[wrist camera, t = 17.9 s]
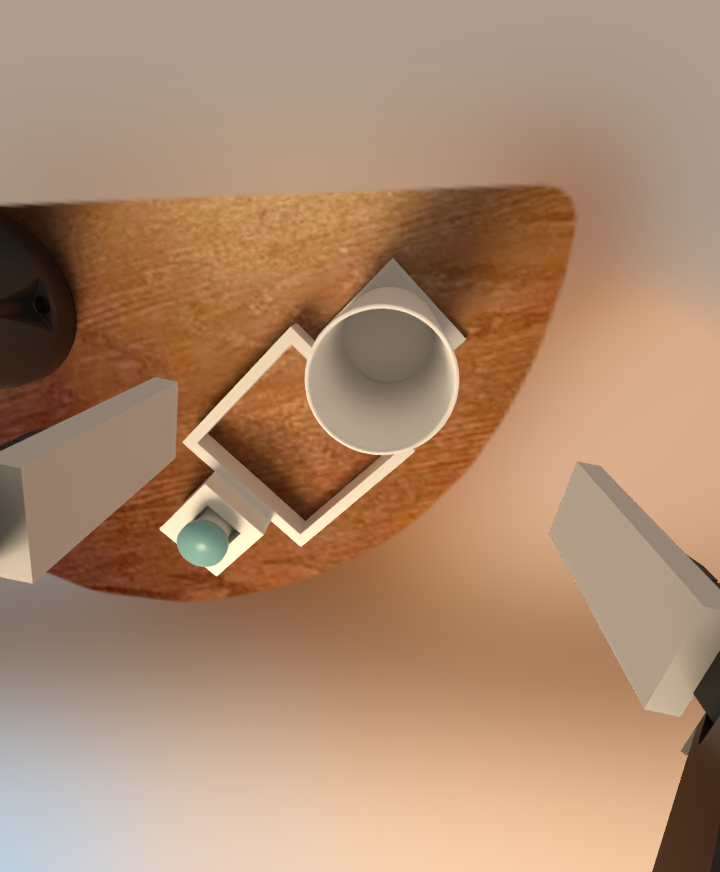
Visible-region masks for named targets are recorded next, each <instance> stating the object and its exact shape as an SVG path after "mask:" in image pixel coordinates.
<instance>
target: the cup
mask: <svg viewBox="0 0 720 872" xmlns="http://www.w3.org/2000/svg"><path fill="white" fill-rule="evenodd" d="M305 389H306V395H307V399H308V402H309V405H310V408H311V410H312V412H313V414H314V416H315V417H316V419H317V421H318V422H319V423H320V425H321V426H322V427H323V428H324V430H325V431H326V432H327V433H328V434H329V435H331V436H332V437H333V438H334V439H336V440H337V441H338V442H340V443H341V444H343V445H345V446H347V447H349V448H351V449H354V450H356V451H359V452H363V453H367V454H374V455H391V454H397V453H402V452H405V451H408V450H411V449H413V448H416V447H418V446H420V445H421V444H423V443H425V442H426V441H428V440H429V439H430V438H432V437H433V436H434V435H435V434H436V433H437V432H438V431H439V430H440V429H441V428H442V426H443V425H444V424H445V423H446V421H447V420H448V418H449V416H450V414H451V412H452V410H453V408H454V405H455V403H456V399H457V395H458V389H459V370H458V363H457V359H456V356H455V353H454V350H453V348H452V346H451V344H450V342H449V340H448V338H447V337H446V335H445V333H444V332H443V330H442V328H441V326H440V325H439V323H438V321H437V320H436V318H435V316H434V315H433V313H432V311H431V310H430V308H429V307H428V305H427V304H426V303H425V302H424V301H423V300H422V299H421V298H420V297H419V296H417V295H416V294H414V293H412V292H410V291H408V290H406V289H403V288H398V287H382V288H377V289H374V290H371V291H369V292H367V293H365V294H364V295H362V296H361V297H359V298H358V299H357V300H356V301H355V302H354V303H352V304H351V305H350V306H349V307H348V308H346V309H345V310H344V311H343V312H342V313H341V314H339V315H338V316H337V317H336V318H335V319H334V320H332V321H331V322H330V323H329V324H328V325H327V326H326V327H325V328H324V329H323V330H322V332H321V333H320V334H319V336H318V337H317V339H316V340H315V342H314V344H313V346H312V348H311V351H310V354H309V356H308V360H307V364H306V370H305Z"/></svg>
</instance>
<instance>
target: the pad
mask: <svg viewBox="0 0 720 872" xmlns="http://www.w3.org/2000/svg"><path fill="white" fill-rule="evenodd" d="M382 287H398V288H403V289H406V290H408V291H410V292H412V293H414V294H416V295H417V296H419V297H420V298H421V299H422V300H423V301H424V302H425V303H426V304H427V305H428V307H429V308H430V310H431V311H432V313H433V315H434V316H435V318H436V320H437V321H438V323H439V325H440V326H441V328H442V330H443V332H444V333H445V335H446V337H447V338H448V340H449V342H450V344H451V346H452V348H453V350H455V349H456V348H457V347H458V346H459V345H461V344H462V343H463V342H464V341H465V340H466V338H465V337H464V336H463V335H462V334H461V333H460V332H459V330H458V329H457V328H456V327H455V326H454V325H453V324H452V323H451V322H450V320H449V319H448V318H447V317H446V316H445V315H444V314H443V313H442V312H441V310H440V309H439V308H438V307H437V306H436V305H435V304H434V303H433V302H432V300H431V299H430V298H429V297H428V296H427V295H426V294H425V293H424V292H423V290H422V289H421V288H420V287H419V286H418V285H417V284H416V283H415V282H414V280H413V279H412V278H411V277H410V276H409V275H408V274H407V273H406V272H405V270H404V269H403V268H402V267H401V266H400V265H399V264H398V263H397V262H396V260H395V259H394V258H392V259H391V260H390V261H389V262H388V263H387V264H386V265H385V266H384V267H383V268H382V269H381V270H380V271H379V272H378V273H377V275H376V276H375V277H374V278H373V279H372V280H371V281H370V282H369V283H368V284H367V285H366V286H365V287H364V288H363V289H362V290H361V291H360V292H359V293H358V294H357V295H356V296H355V297H354V298H353V299H352V300H351V301H350V302H349V303H348V304H347V305H346V307H345V308H344V309H343V310H342V311H341V312H340V313H339V314H341V313H342V312H343V311H344V310H345V309H346V308H348V307H349V306H350V305H351V304H352V303H354V302H355V301H356V300H357V299H358V298H359V297H361V296H362V295H364V294H365V293H367V292H369V291H371V290H374V289H377V288H382ZM339 314H338V315H339ZM338 315H337V316H338ZM337 316H336V317H337ZM336 317H335V318H336ZM335 318H334V319H335ZM334 319H333V320H334ZM321 332H322V331H321ZM321 332H320V333H321ZM320 333H319V334H320ZM319 334H318V335H317V337H318V336H319Z"/></svg>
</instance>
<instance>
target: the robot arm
mask: <svg viewBox="0 0 720 872" xmlns="http://www.w3.org/2000/svg"><path fill="white" fill-rule="evenodd" d="M74 332H75V312H74V306H73V301H72V297H71V293H70V290H69V287H68V285H67V282H66V280H65V278H64V276H63V274H62V272H61V270H60V268H59V267H58V265H57V263H56V262H55V260H54V259H53V257H52V256H51V255H50V253H49V252H48V251H47V250H46V248H45V247H44V246H43V245H42V244H41V243H40V242H39V241H38V240H37V239H36V238H35V237H34V236H33V235H31V234H30V233H29V232H28V231H27V230H25V229H24V228H23V227H21V226H20V225H18V224H17V223H15V222H13V221H11V220H10V219H8V218H6V217H4V216H1V215H0V389H6V388H14V387H19V386H22V385H25V384H28V383H31V382H34V381H37V380H40V379H42V378H45V377H46V376H48V375H50V374H51V373H53V372H54V371H55V370H56V369H57V368H58V367H59V366H60V365H61V364H62V363H63V361H64V360H65V358H66V357H67V355H68V353H69V351H70V348H71V345H72V342H73V338H74ZM177 400H178V382H176V381H171V380H166V379H161V378H156V377H155V378H152V379H150V380H148V381H146V382H144V383H142V384H140V385H138V386H136V387H134V388H132V389H129V390H127V391H125V392H123V393H121V394H119V395H117V396H115V397H113V398H111V399H109V400H106V401H104V402H102V403H100V404H98V405H96V406H94V407H92V408H90V409H88V410H86V411H83V412H81V413H79V414H77V415H75V416H73V417H71V418H69V419H67V420H65V421H63V422H60V423H58V424H56V425H54V426H52V427H48V428H44V429H40V430H36V431H32V432H29V433H27V434H24V435H22V436H20V437H18V438H16V439H14V440H13V442H11V441H9V442H7V443H5V444H3V445H1V446H0V577H4V578H8V579H13V580H18V581H23V582H27V583H34V582H35V581H36V580H37V579H38V578H39V577H41V576H42V575H43V574H44V573H45V572H46V571H48V570H49V569H50V568H51V567H52V566H53V565H54V564H56V563H57V562H58V561H59V560H60V559H61V558H62V557H63V556H65V555H66V554H67V553H68V552H69V551H70V550H71V549H73V548H74V547H75V546H76V545H77V544H78V543H79V542H81V541H82V540H83V539H84V538H85V537H86V536H87V535H88V534H90V533H91V532H92V531H93V530H94V529H95V528H96V527H98V526H99V525H100V524H101V523H102V522H103V521H104V520H106V519H107V518H108V517H109V516H110V515H111V514H112V513H113V512H115V511H116V510H117V509H118V508H119V507H120V506H121V505H123V504H124V503H125V502H126V501H127V500H128V499H129V498H131V497H132V496H133V495H134V494H135V493H136V492H137V491H138V490H140V489H141V488H142V487H143V486H144V485H145V484H146V483H148V482H149V481H150V480H151V479H152V478H153V477H154V476H156V475H157V474H158V473H159V472H160V471H161V470H162V469H163V468H165V467H166V466H167V465H168V464H169V463H170V462H171V461H173V460H174V459H175V457H176V429H177ZM549 535H550V536H551V538H552V540H553V542H554V544H555V546H556V548H557V549H558V551H559V553H560V555H561V557H562V559H563V560H564V562H565V564H566V566H567V568H568V570H569V572H570V573H571V575H572V577H573V579H574V580H575V583H576V584H577V586H578V588H579V590H580V592H581V593H582V595H583V597H584V599H585V601H586V602H587V605H588V606H589V608H590V610H591V612H592V614H593V616H594V618H595V619H596V621H597V623H598V625H599V627H600V629H601V631H602V632H603V634H604V636H605V638H606V640H607V641H608V643H609V645H610V647H611V649H612V651H613V652H614V654H615V656H616V658H617V660H618V662H619V664H620V666H621V667H622V669H623V671H624V673H625V675H626V677H627V678H628V680H629V682H630V684H631V686H632V688H633V690H634V691H635V693H636V695H637V697H638V699H639V701H640V702H641V704H642V706H643V708H644V709H645V710H650V711H655V712H660V713H665V714H669V715H674V716H679V717H681V715H682V714H683V712H684V710H685V709H686V707H687V706H688V704H689V703H690V701H691V699H692V698H693V696H694V695H695V697H696V698H697V700H698V701H699V703H700V704H701V706H702V707H703V709H704V710H705V711H706V713H705V715H704V716H703V718H702V719H701V721H700V722H699V724H698V726H697V727H696V728H695V730H694V731H693V733H692V735H691V736H690V737H689V739H688V741H687V742H686V744H685V745H684V747H683V748H682V750H681V752H683V753H684V754H685V755H688V757H687V760H686V764H685V767H684V770H683V773H682V777H681V780H680V783H679V786H678V790H677V793H676V796H675V800H674V803H673V806H672V810H671V812H670V816H669V819H668V822H667V825H666V829H665V832H664V835H663V838H662V842H661V845H660V848H659V852H658V855H657V858H656V861H655V865H654V868H653V871H652V872H720V583H717V581H718V580H717V579H716V578H715V577H714V576H713V575H712V574H711V573H709V571H708V570H707V569H706V568H705V567H704V566H702V565H701V564H699V563H698V562H696V561H695V560H693V559H692V558H691V557H689V556H688V555H687V554H685V553H684V552H683V551H682V550H681V549H680V548H679V547H678V546H677V545H676V544H675V543H674V542H673V540H672V539H671V538H670V537H669V536H668V535H667V534H666V533H665V532H664V531H663V530H662V529H661V528H660V527H659V526H658V525H657V524H656V523H655V522H654V521H653V520H652V519H651V518H650V517H649V516H648V515H647V514H646V513H645V512H644V511H643V510H642V508H640V507H639V505H638V504H637V503H636V502H635V501H634V500H633V499H632V498H631V497H630V496H629V495H628V494H627V493H626V492H625V491H624V490H623V489H622V488H621V487H620V486H619V485H618V484H617V483H616V482H615V481H614V480H613V479H612V478H611V477H610V475H608V474H607V472H606V471H605V470H604V469H603V468H602V467H601V466H597V465H592V464H587V463H582V462H577V463H576V465H575V468H574V471H573V473H572V476H571V478H570V481H569V483H568V486H567V488H566V491H565V493H564V496H563V498H562V501H561V503H560V506H559V509H558V511H557V514H556V517H555V519H554V521H553V524H552V527H551V529H550V531H549Z"/></svg>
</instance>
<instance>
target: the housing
mask: <svg viewBox="0 0 720 872" xmlns="http://www.w3.org/2000/svg"><path fill="white" fill-rule="evenodd" d="M314 342H315V340H314V339H313V338H312V337H311V336H310V335H309V334H308V333H307V332H306V331H305V330H304V329H303V328H302V327H301V326H300V325H299V324H298V323H296V324H294V325H292V326H291V327H290V328H289V329H288V330H287V331H286V332H285V333H284V334H283V335H282V336H281V337H280V338H279V339H278V341H277V342H276V343H275V344H274V345H273V346H272V347H271V348H270V349H269V350H268V351H267V352H266V353H265V354H264V356H263V357H262V358H261V359H260V360H259V361H258V362H257V363H256V364H255V365H254V366H253V367H252V368H251V369H250V370H249V372H248V373H247V374H246V375H245V376H244V377H243V378H242V379H241V380H240V381H239V382H238V383H237V384H236V385H235V387H234V388H233V389H232V390H231V391H230V392H229V393H228V394H227V395H226V396H225V397H224V398H223V399H222V400H221V401H220V403H219V404H218V405H217V406H216V407H215V408H214V409H213V410H212V411H211V412H210V413H209V414H208V415H207V416H206V418H205V419H204V420H203V421H202V422H201V423H200V424H199V425H198V426H197V427H196V428H195V429H194V430H193V431H192V433H191V434H190V435H189V436H188V437H187V438H186V439H185V440H184V441H183V442H182V443H183V444H184V445H186V446H187V447H188V448H189V449H190V450H191V451H192V452H194V453H195V454H196V455H197V456H198V457H199V458H200V459H201V460H203V461H204V462H205V463H206V464H207V465H208V466H209V467H211V468H212V469H213V470H214V472H213V473H212V474H211V475H210V476H209V477H208V478H207V479H206V480H205V481H204V482H203V483H202V484H201V485H200V486H199V487H198V488H197V489H196V490H195V491H194V492H193V493H192V494H191V495H190V496H189V497H188V498H187V499H186V500H185V501H184V502H183V504H182V505H181V506H180V507H179V508H178V509H177V510H176V511H175V512H174V513H173V515H172V516H171V517H170V518H169V519H168V520H167V521H166V522H165V523H164V525H163V526H162V527H161V528H160V529H159V530H161V531H162V532H163V533H164V534H166V535H167V536H168V537H169V538H170V539H172V540H173V541H174V542H175V543H177V536H178V534H179V532H180V531H181V530H182V528H183V527H184V526H185V525H186V524H187V523H189V522H190V521H193V520H198V519H199V518H200V517H201V516H202V514H203V513H204V512H205V510H206V509H207V508H208V507H210V508H211V509H213V510H214V511H215V512H216V513H217V514H218V515H220V516H221V517H222V518H223V519H224V520H225V521H227V522H228V523H229V524H230V525H231V526H232V527H234V529H233V531H232V532H231V534H230V535H229V537H228V541H229V548H228V551H227V553H226V554H225V556H224V558H223V559H222V560H221V561H220V562H219V563H218V564H216V565H214V566H210V567H206V568H207V569H208V570H209V571H211V572H212V573H213V574H214V575H215V576H218V575H219V574H220V573H221V572H222V571H223V570H224V569H225V568H227V567H228V566H229V565H230V564H231V563H232V562H233V561H235V560H236V559H237V558H238V557H239V556H240V555H241V554H242V553H244V552H245V551H246V550H247V549H248V548H249V547H250V546H252V545H253V544H254V543H255V542H256V541H257V540H258V539H259V538H261V537H262V536H263V535H264V533H265V531H266V529H267V527H268V525H269V523H270V521H272V522H273V523H274V524H275V525H277V526H278V527H279V528H280V529H281V530H282V531H283V532H284V533H286V534H287V535H288V536H289V537H290V538H291V539H292V540H294V541H295V542H296V543H297V544H298V545H299V546H300V547H301V546H303V545H304V544H305V543H306V542H307V541H309V540H310V539H311V538H312V537H313V536H315V535H316V534H317V533H318V532H319V531H321V530H322V529H323V528H324V527H325V526H327V525H328V524H329V523H330V522H331V521H333V520H334V519H335V518H336V517H337V516H338V515H340V514H341V513H342V512H343V511H344V510H346V509H347V508H348V507H349V506H350V505H352V504H353V503H354V502H355V501H356V500H358V499H359V498H360V497H361V496H362V495H364V494H365V493H366V492H367V491H368V490H369V489H371V488H372V487H373V486H374V485H375V484H377V483H378V482H379V481H380V480H381V479H383V478H384V477H385V476H386V475H387V474H389V473H390V472H391V471H392V470H393V469H395V468H396V467H397V466H398V465H399V464H400V463H402V462H403V461H404V460H405V459H406V458H408V457H409V456H410V455H411V454H412V453H414V452H415V448H413V449H411V450H408V451H405V452H402V453H397V454H391V455H382V456H380V457H379V458H378V459H377V460H376V461H375V462H373V463H372V464H371V465H370V466H369V467H368V468H366V469H365V470H364V471H363V472H362V473H361V474H359V475H358V476H357V477H356V478H355V479H354V480H352V481H351V482H350V483H349V484H348V485H347V486H346V487H344V488H343V489H342V490H341V491H340V492H339V493H337V494H336V495H335V496H334V497H333V498H332V499H330V500H329V501H328V502H327V503H326V504H325V505H323V506H322V507H321V508H320V509H319V510H318V511H316V512H315V513H314V514H313V515H312V516H311V517H309V518H308V519H307V520H306V521H305V520H304V519H303V518H301V517H300V516H299V515H298V514H297V513H296V512H295V511H294V510H293V509H291V508H290V507H289V506H288V505H287V504H286V503H285V502H284V501H283V500H281V499H280V498H279V497H278V496H277V495H276V494H275V493H274V492H273V491H271V490H270V489H269V488H268V487H267V486H266V485H265V484H264V483H262V482H261V481H260V480H259V479H258V478H257V477H256V476H255V475H254V474H252V473H251V472H250V471H249V470H248V469H247V468H246V467H245V466H244V465H242V464H241V463H240V462H239V461H238V460H237V459H236V458H235V457H233V456H232V455H231V454H230V453H229V452H228V451H227V450H226V449H225V448H223V447H222V446H221V445H220V444H219V443H218V442H217V441H216V440H215V439H213V438H212V437H211V436H210V435H209V434H208V433H209V432H210V431H211V430H212V429H213V428H214V427H215V425H216V424H217V423H218V422H219V421H220V420H221V419H222V418H223V417H224V416H225V415H226V414H227V413H228V412H229V411H230V410H231V409H232V408H233V407H234V406H235V405H236V403H237V402H238V401H239V400H240V399H241V398H242V397H243V396H244V395H245V394H246V393H247V392H248V391H249V390H250V389H251V388H252V387H253V386H254V385H255V384H256V382H257V381H258V380H259V379H260V378H261V377H262V376H263V375H264V374H265V373H266V372H267V371H268V370H269V369H270V368H271V367H272V366H273V365H274V364H275V363H276V361H277V360H278V359H279V358H280V357H281V356H282V355H283V354H284V353H285V352H286V351H287V350H288V349H289V348H290V347H291V346H292V345H293V346H294V347H295V348H296V349H297V350H298V351H299V352H300V353H301V354H302V355H303V356H304V357H305V358H306V359H307V360H308V356H309V354H310V351H311V348H312V346H313V344H314Z"/></svg>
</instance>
